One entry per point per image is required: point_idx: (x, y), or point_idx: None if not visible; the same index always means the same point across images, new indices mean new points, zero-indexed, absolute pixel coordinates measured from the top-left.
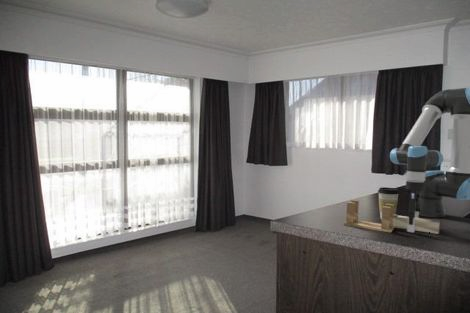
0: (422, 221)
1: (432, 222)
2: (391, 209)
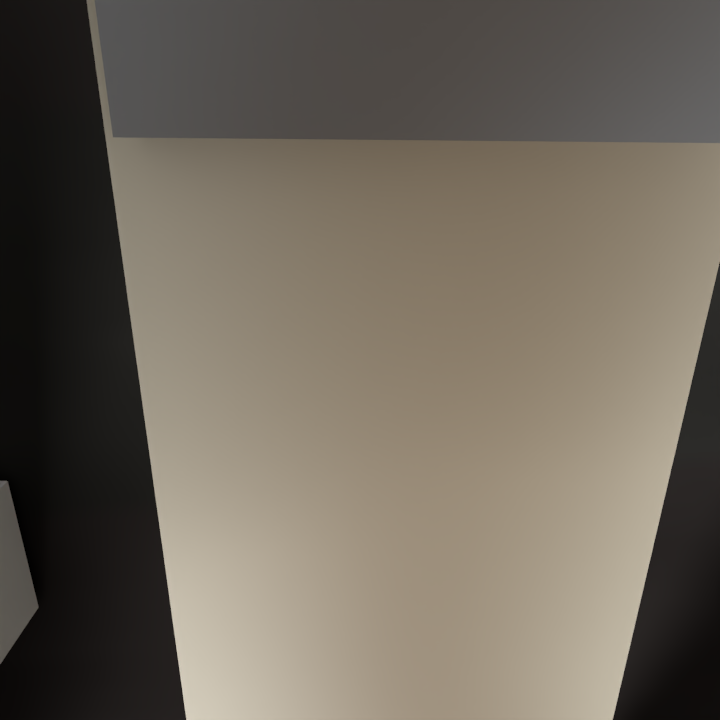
0: (629, 511)
1: None
2: None
